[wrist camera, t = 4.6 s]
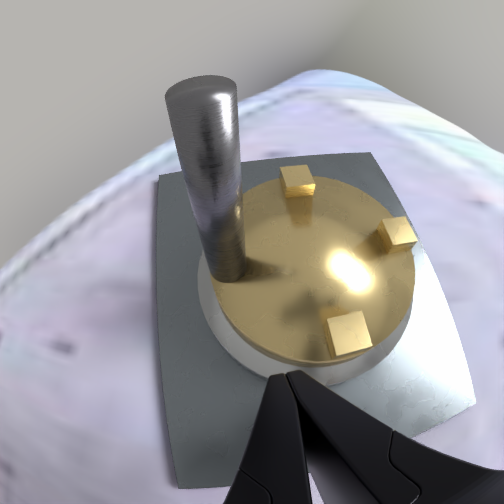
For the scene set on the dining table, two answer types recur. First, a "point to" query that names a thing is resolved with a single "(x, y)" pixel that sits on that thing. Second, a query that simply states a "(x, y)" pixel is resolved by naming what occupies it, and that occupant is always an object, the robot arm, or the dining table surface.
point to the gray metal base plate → (261, 367)
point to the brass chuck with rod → (288, 242)
